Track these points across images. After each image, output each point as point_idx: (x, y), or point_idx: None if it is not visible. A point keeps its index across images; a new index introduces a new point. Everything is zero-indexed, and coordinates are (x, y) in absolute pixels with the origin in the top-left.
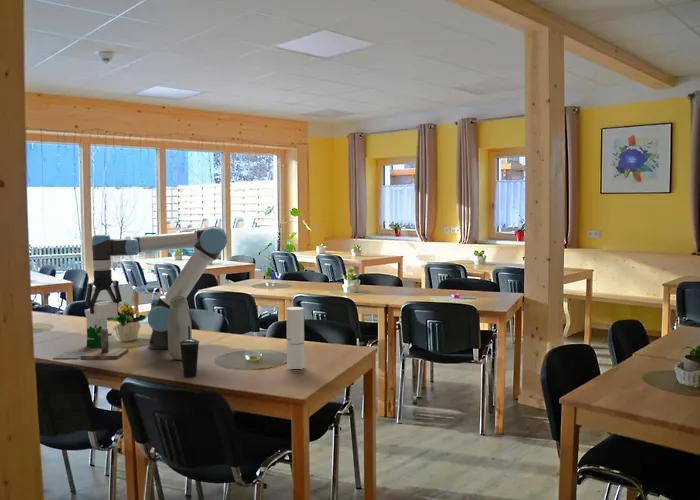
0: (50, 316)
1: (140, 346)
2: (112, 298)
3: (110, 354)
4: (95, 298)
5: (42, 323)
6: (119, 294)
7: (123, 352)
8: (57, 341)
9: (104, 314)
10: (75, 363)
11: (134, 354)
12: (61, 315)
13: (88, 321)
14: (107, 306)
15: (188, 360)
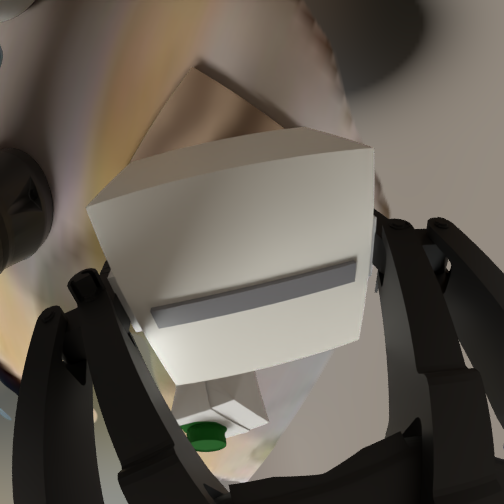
0: (239, 476)
1: (77, 239)
2: (133, 350)
3: (209, 104)
4: (421, 282)
5: (259, 461)
6: (30, 380)
7: (150, 128)
8: (283, 384)
9: (262, 138)
10: (339, 102)
11: (113, 114)
12: (224, 477)
13: (252, 372)
14: (237, 160)
15: None
